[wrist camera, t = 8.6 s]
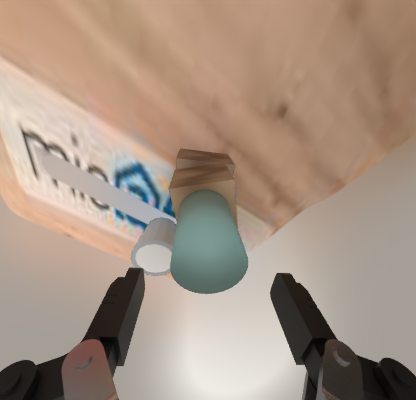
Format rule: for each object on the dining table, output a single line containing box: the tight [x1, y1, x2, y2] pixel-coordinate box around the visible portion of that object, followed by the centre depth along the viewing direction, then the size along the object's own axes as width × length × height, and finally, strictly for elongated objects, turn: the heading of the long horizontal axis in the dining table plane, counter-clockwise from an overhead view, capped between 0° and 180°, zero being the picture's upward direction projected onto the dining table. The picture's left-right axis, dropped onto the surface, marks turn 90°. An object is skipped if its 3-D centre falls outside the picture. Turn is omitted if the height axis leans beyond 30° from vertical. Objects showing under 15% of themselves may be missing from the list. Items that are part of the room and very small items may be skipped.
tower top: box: [169, 163, 238, 229], centre depth 21 cm, size 6×6×6 cm
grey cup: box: [131, 218, 176, 276], centre depth 30 cm, size 7×7×7 cm
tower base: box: [176, 149, 235, 177], centre depth 26 cm, size 7×7×6 cm
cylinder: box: [170, 190, 248, 294], centre depth 15 cm, size 5×5×7 cm
